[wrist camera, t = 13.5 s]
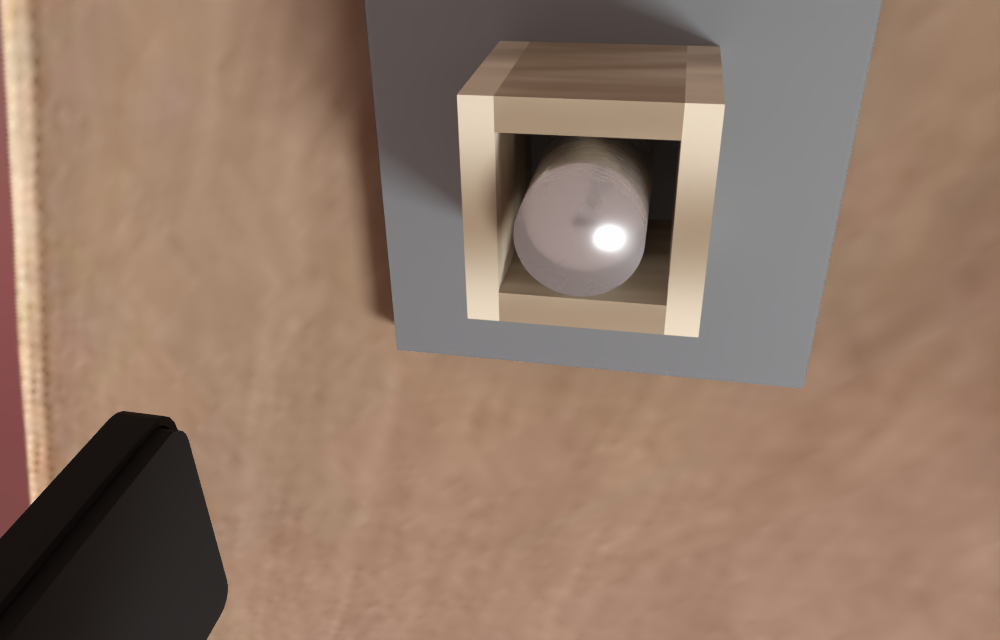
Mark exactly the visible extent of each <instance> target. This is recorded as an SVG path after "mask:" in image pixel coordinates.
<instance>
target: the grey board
mask: <svg viewBox="0 0 1000 640" xmlns="http://www.w3.org/2000/svg"><path fill="white" fill-rule="evenodd" d="M364 1H365V12H366V23H367V34H368V44H369V55H370V66H371V76H372V87H373V98H374V109H375V119H376V130H377V141H378V151H379V162H380V173H381V184H382V194H383V205H384V216H385V227H386V237H387V248H388V259H389V269H390V280H391V291H392V302H393V312H394V323H395V334H396V345H397V350H406V351H416V352H427V353H437V354H448V355H458V356H469V357H479V358H490V359H500V360H511V361H521V362H532V363H542V364H553V365H563V366H574V367H584V368H595V369H605V370H615V371H626V372H636V373H647V374H657V375H668V376H678V377H689V378H699V379H710V380H720V381H731V382H741V383H752V384H762V385H773V386H783V387H794V388H803V387H804V383H805V378H806V373H807V368H808V363H809V358H810V353H811V348H812V343H813V338H814V333H815V329H816V324H817V319H818V314H819V309H820V304H821V299H822V294H823V289H824V284H825V279H826V274H827V270H828V265H829V260H830V255H831V250H832V245H833V240H834V235H835V230H836V225H837V220H838V215H839V211H840V206H841V201H842V196H843V191H844V186H845V181H846V176H847V171H848V166H849V161H850V157H851V152H852V147H853V142H854V137H855V132H856V127H857V122H858V117H859V112H860V107H861V102H862V98H863V93H864V88H865V83H866V78H867V73H868V68H869V63H870V58H871V53H872V48H873V43H874V39H875V34H876V29H877V24H878V19H879V14H880V9H881V4H882V0H364ZM499 41H528V42H568V43H608V44H648V45H689V46H720V52H721V63H722V74H723V86H724V97H725V110H724V119H723V127H722V136H721V145H720V153H719V162H718V171H717V180H716V188H715V197H714V206H713V214H712V223H711V232H710V241H709V249H708V258H707V267H706V275H705V284H704V293H703V302H702V310H701V319H700V328H699V336H698V337H686V336H674V335H661V334H649V333H637V332H625V331H613V330H601V329H589V328H577V327H565V326H553V325H541V324H529V323H517V322H504V321H492V320H480V319H468V316H467V295H466V274H465V254H464V233H463V212H462V191H461V170H460V150H459V129H458V108H457V94H458V93H459V91H460V90H461V89H462V88H463V86H464V85H465V84H466V83H467V81H468V80H469V79H470V78H471V76H472V75H473V74H474V73H475V71H476V70H477V69H478V68H479V66H480V65H481V64H482V63H483V61H484V60H485V59H486V58H487V56H488V55H489V54H490V53H491V51H492V50H493V49H494V48H495V46H496V45H497V44H498V43H499ZM550 136H551V135H542V134H530V144H531V180H532V178H533V176H534V173H535V171H536V169H537V166H538V164H539V162H540V159H541V157H542V155H543V152H544V150H545V148H546V145H547V143H548V141H549V138H550ZM655 143H656V155H655V163H654V172H653V180H652V189H651V197H650V206H649V214H648V219H657V220H672V213H673V202H674V191H675V179H676V168H677V157H678V145H679V141H678V140H656V139H655Z"/></svg>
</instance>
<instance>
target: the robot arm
mask: <svg viewBox="0 0 1000 640" xmlns="http://www.w3.org/2000/svg"><path fill="white" fill-rule="evenodd" d="M227 593H228V584H227V579H226V575H225V571H224V568H223V564H222V560H221V557H220V553H219V550H218V546H217V542H216V539H215V535H214V531H213V528H212V524H211V520H210V517H209V513H208V509H207V506H206V502H205V498H204V495H203V491H202V487H201V484H200V480H199V476H198V473H197V469H196V465H195V462H194V458H193V454H192V451H191V447H190V443H189V440H188V438H187V435H186V434H185V433H184V432H183V431H179V430H178V429H177V427H176V425H175V422H174V421H173V420H172V419H171V418H170V417H165V416H158V415H150V414H142V413H135V412H127V411H122V412H119V413H116V414H115V415H114V416H112V417H111V418H110V419H109V420H108V421H107V422H106V423H105V424H104V425H103V426H102V428H101V429H100V430H99V431H98V432H97V433H96V434H95V435H94V436H93V437H92V439H91V440H90V441H89V442H88V443H87V444H86V445H85V446H84V447H83V448H82V449H81V451H80V452H79V453H78V454H77V455H76V456H75V457H74V458H73V459H72V460H71V462H70V463H69V464H68V465H67V466H66V467H65V468H64V469H63V470H62V471H61V473H60V474H59V475H58V476H57V477H56V478H55V479H54V480H53V481H52V482H51V483H50V485H49V486H48V487H47V488H46V489H45V490H44V491H43V492H42V493H41V494H40V496H39V497H38V498H37V499H36V500H35V501H34V502H33V503H32V504H31V505H30V507H29V508H28V509H27V510H26V511H25V512H24V513H23V514H22V515H21V516H20V518H19V519H18V520H17V521H16V522H15V523H14V524H13V525H12V526H11V527H10V528H9V530H8V531H7V532H6V533H5V534H4V535H3V536H2V537H1V538H0V640H207V638H208V636H209V634H210V633H211V631H212V629H213V627H214V626H215V624H216V622H217V620H218V619H219V617H220V615H221V613H222V611H223V609H224V606H225V603H226V599H227Z"/></svg>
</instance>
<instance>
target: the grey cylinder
mask: <svg viewBox="0 0 1000 640" xmlns="http://www.w3.org/2000/svg"><path fill="white" fill-rule="evenodd" d="M655 155H656V143H655V139H633V138H610V137H587V136H564V135H551V136H550V138H549V141H548V143H547V145H546V148H545V150H544V152H543V155H542V157H541V159H540V162H539V164H538V166H537V169H536V171H535V173H534V176H533V178H532V180H531V183H530V185H529V187H528V190H527V192H526V194H525V197H524V199H523V201H522V204H521V206H520V208H519V211H518V213H517V216H516V219H515V223H514V232H513V236H514V244H515V249H516V252H517V255H518V257H519V259H520V261H521V263H522V264H523V266H524V267H525V269H526V270H527V271H528V272H529V273H530V275H531V276H532V277H533V278H535V279H536V280H537V281H538V282H540V283H541V284H542V285H544V286H546V287H547V288H549V289H551V290H554V291H556V292H559V293H562V294H566V295H571V296H594V295H598V294H602V293H605V292H608V291H610V290H612V289H614V288H616V287H618V286H619V285H621V284H623V283H624V282H625V281H626V280H627V279H628V278H629V277H630V276H631V275H632V274H633V273H634V271H635V270H636V268H637V267H638V265H639V263H640V261H641V259H642V256H643V253H644V247H645V240H646V232H647V223H648V214H649V206H650V197H651V189H652V180H653V172H654V163H655Z"/></svg>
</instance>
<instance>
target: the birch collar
mask: <svg viewBox="0 0 1000 640" xmlns="http://www.w3.org/2000/svg"><path fill="white" fill-rule="evenodd" d="M457 108H458V129H459V150H460V170H461V191H462V212H463V233H464V254H465V274H466V295H467V316H468V319H480V320H492V321H504V322H517V323H529V324H541V325H553V326H565V327H577V328H589V329H601V330H613V331H625V332H637V333H649V334H661V335H674V336H686V337H698V336H699V328H700V319H701V310H702V302H703V293H704V284H705V275H706V267H707V258H708V249H709V241H710V232H711V223H712V214H713V206H714V197H715V188H716V180H717V171H718V162H719V153H720V145H721V136H722V127H723V119H724V110H725V97H724V86H723V74H722V63H721V52H720V46H689V45H648V44H608V43H568V42H528V41H499V43H498V44H497V45H496V46H495V48H494V49H493V50H492V51H491V53H490V54H489V55H488V56H487V58H486V59H485V60H484V61H483V63H482V64H481V65H480V66H479V68H478V69H477V70H476V71H475V73H474V74H473V75H472V76H471V78H470V79H469V80H468V81H467V83H466V84H465V85H464V86H463V88H462V89H461V90H460V91H459V93H458V94H457ZM530 134H542V135H564V136H587V137H610V138H633V139H656V140H678V141H679V145H678V157H677V168H676V179H675V191H674V202H673V213H672V220H657V219H648V223H647V232H646V240H645V247H644V253H643V256H642V259H641V261H640V263H639V265H638V267H637V268H636V270H635V271H634V273H633V274H632V275H631V276H630V277H629V278H628V279H627V280H626V281H625V282H624V283H623V284H621V285H619V286H618V287H616V288H614V289H612V290H610V291H608V292H605V293H602V294H598V295H594V296H571V295H566V294H562V293H559V292H556V291H554V290H551V289H549V288H547V287H546V286H544V285H542V284H541V283H540V282H538V281H537V280H536V279H535V278H533V277H532V276H531V275H530V273H529V272H528V271H527V270H526V269H525V267H524V266H523V264H522V263H521V261H520V259H519V257H518V255H517V252H516V249H515V244H514V236H513V232H514V223H515V219H516V216H517V213H518V211H519V208H520V206H521V204H522V201H523V199H524V197H525V194H526V192H527V190H528V187H529V185H530V183H531V144H530Z"/></svg>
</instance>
